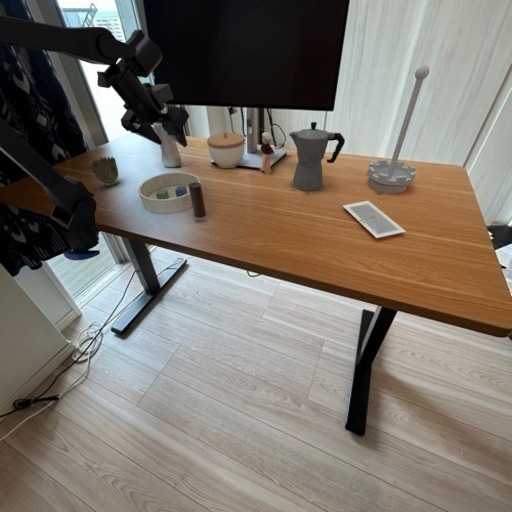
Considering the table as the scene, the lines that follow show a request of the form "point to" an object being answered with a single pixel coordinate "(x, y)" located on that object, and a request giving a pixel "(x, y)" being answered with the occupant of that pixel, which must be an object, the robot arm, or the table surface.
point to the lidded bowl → (226, 149)
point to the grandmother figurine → (266, 152)
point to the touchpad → (373, 219)
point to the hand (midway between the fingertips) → (173, 144)
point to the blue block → (180, 191)
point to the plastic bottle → (167, 146)
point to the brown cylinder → (197, 199)
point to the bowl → (170, 184)
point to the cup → (105, 170)
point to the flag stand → (397, 152)
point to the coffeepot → (312, 155)
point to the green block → (162, 194)
